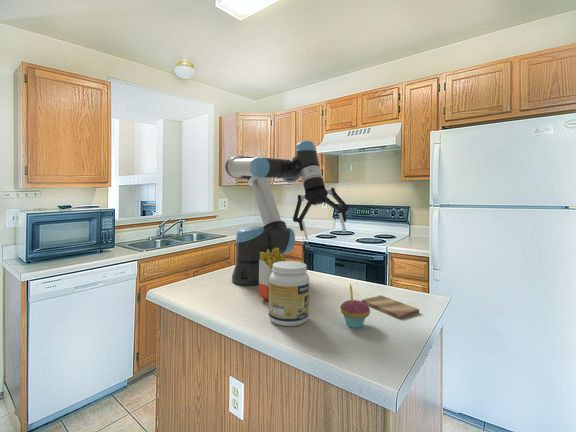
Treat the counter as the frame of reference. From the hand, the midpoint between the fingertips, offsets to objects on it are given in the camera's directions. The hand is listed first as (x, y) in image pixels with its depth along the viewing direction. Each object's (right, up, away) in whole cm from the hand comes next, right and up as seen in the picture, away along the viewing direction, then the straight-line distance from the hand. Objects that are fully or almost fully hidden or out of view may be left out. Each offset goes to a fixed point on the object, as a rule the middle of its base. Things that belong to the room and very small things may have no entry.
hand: (325, 235), depth 108 cm
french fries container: (-18, -23, +4) cm, 30 cm away
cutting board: (+21, -25, -3) cm, 33 cm away
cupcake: (+6, -25, -17) cm, 31 cm away
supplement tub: (-13, -25, -14) cm, 32 cm away
